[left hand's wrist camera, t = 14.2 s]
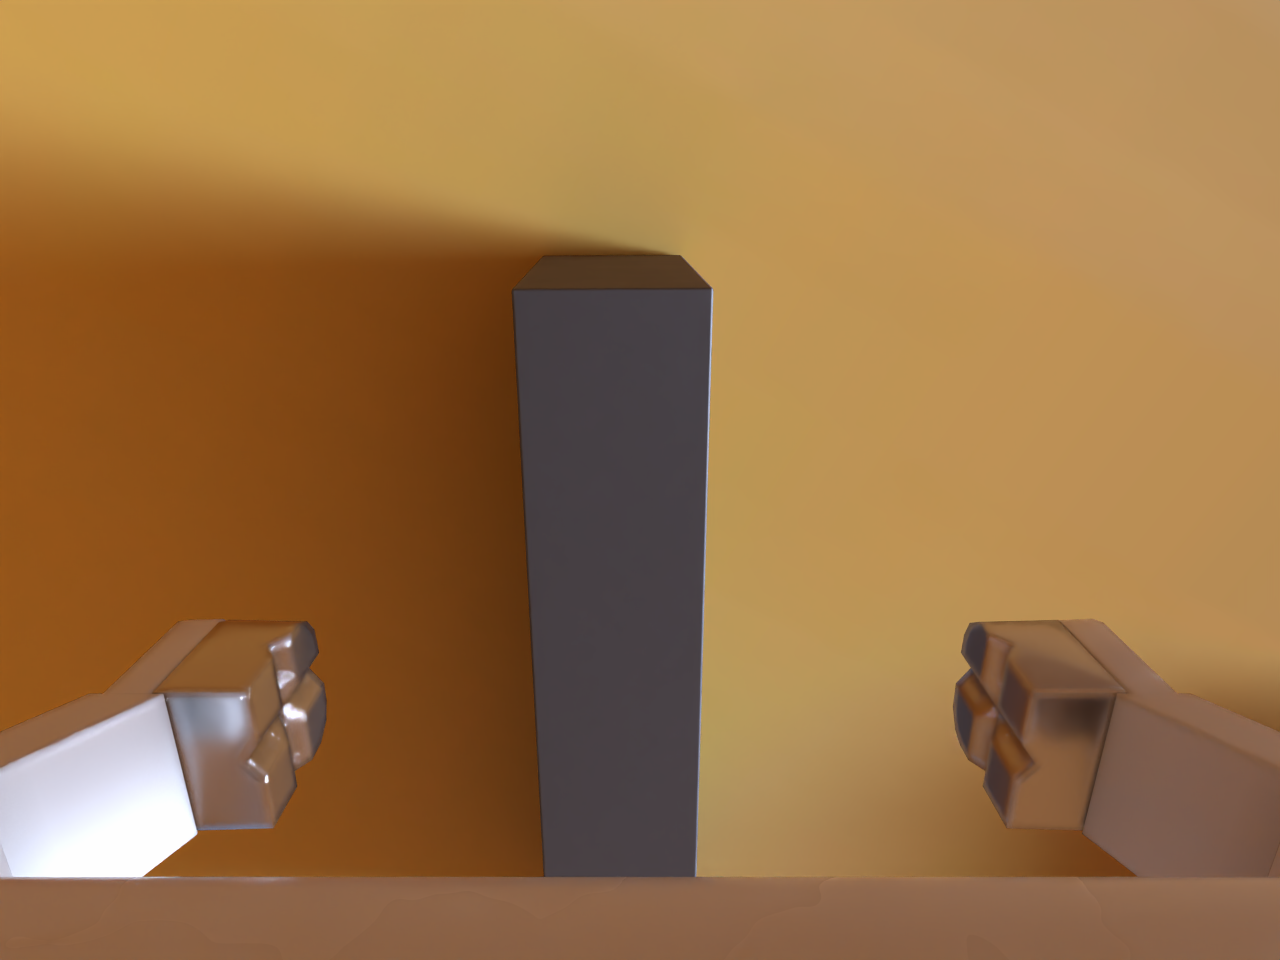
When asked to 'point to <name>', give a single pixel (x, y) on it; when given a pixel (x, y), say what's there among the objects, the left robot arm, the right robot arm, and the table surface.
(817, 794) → the table surface
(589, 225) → the table surface
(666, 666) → the bar
